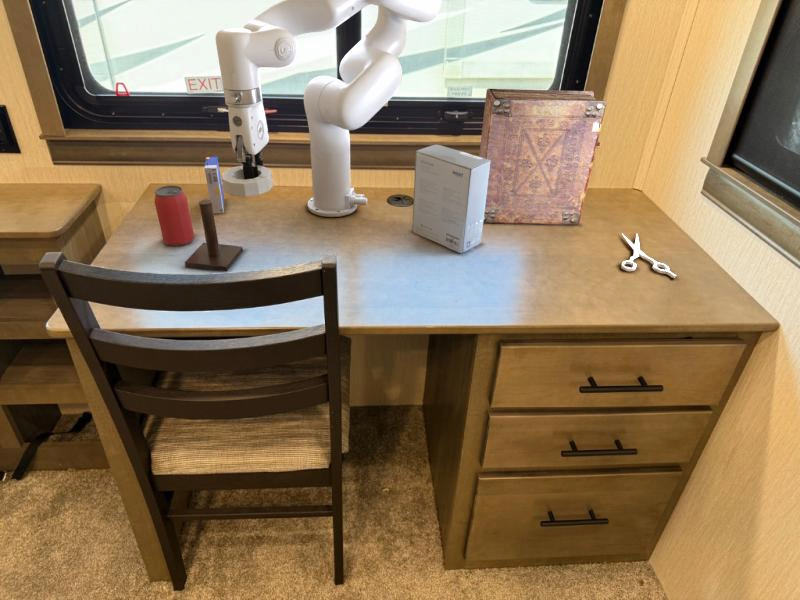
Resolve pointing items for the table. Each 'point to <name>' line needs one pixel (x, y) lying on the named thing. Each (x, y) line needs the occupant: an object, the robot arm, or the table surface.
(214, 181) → the walkman
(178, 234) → the beer can
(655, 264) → the scissors
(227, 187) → the tape roll
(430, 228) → the hard drive box
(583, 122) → the book
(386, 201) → the table surface
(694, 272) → the table surface
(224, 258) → the spindle
